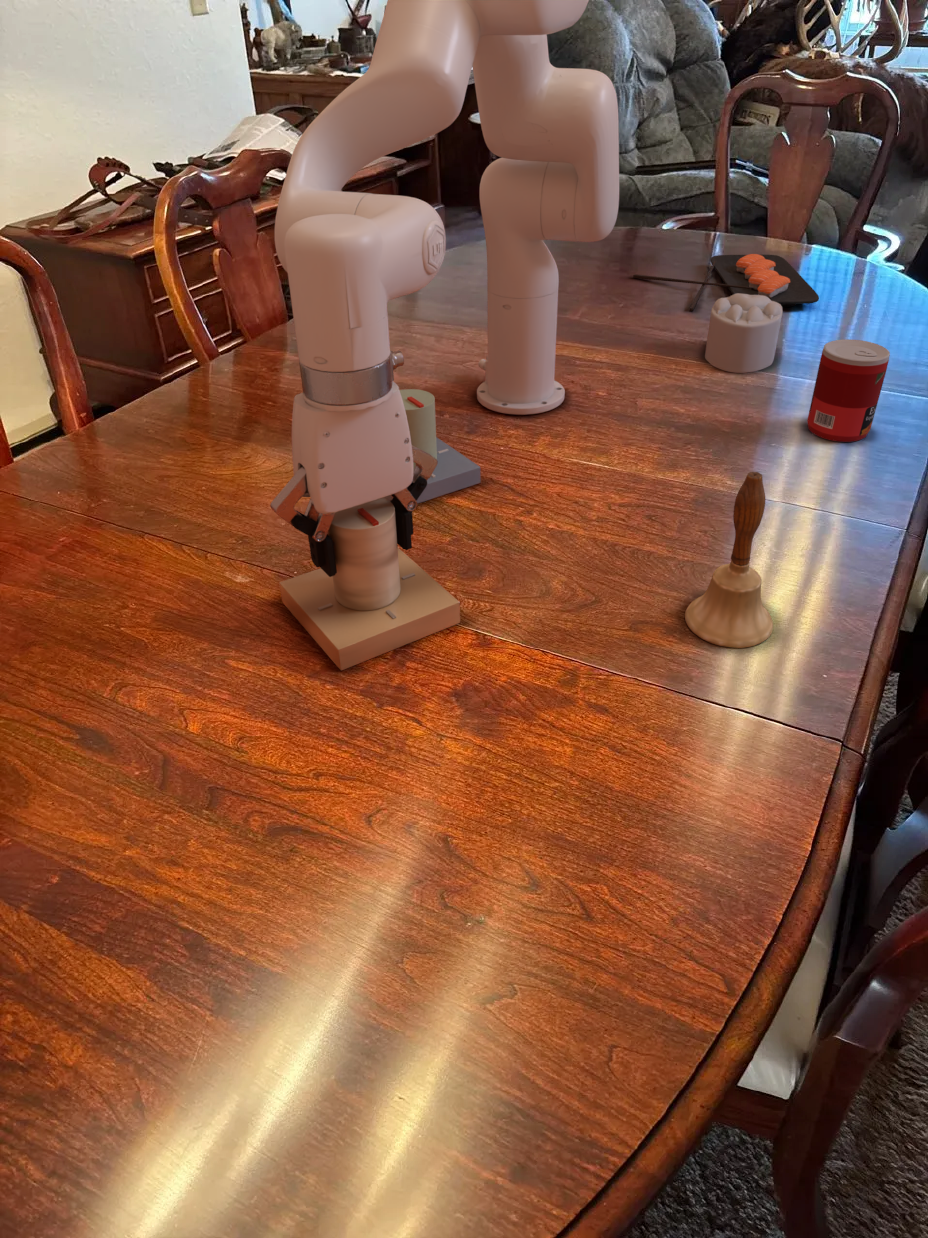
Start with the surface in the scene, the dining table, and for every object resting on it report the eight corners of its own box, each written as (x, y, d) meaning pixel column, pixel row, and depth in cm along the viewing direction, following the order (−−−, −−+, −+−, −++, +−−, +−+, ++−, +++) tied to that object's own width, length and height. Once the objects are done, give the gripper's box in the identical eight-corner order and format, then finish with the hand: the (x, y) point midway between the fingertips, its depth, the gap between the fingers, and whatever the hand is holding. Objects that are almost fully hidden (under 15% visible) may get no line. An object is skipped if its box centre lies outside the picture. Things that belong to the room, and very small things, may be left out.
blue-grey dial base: (347, 471, 115) (346, 454, 114) (429, 447, 120) (429, 430, 119) (395, 511, 107) (394, 493, 106) (480, 482, 112) (480, 465, 111)
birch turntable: (282, 602, 93) (278, 580, 91) (394, 562, 98) (392, 541, 97) (340, 671, 84) (338, 648, 82) (460, 622, 90) (459, 600, 88)
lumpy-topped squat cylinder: (777, 346, 147) (787, 291, 142) (769, 376, 137) (780, 318, 132) (711, 339, 150) (718, 285, 145) (698, 368, 140) (706, 311, 135)
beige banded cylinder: (323, 586, 90) (312, 503, 85) (380, 566, 93) (373, 484, 88) (353, 618, 86) (344, 533, 81) (412, 596, 89) (407, 512, 83)
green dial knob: (379, 458, 113) (374, 394, 108) (421, 445, 116) (417, 382, 111) (403, 476, 109) (399, 411, 104) (446, 463, 112) (444, 398, 107)
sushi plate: (822, 311, 160) (827, 289, 158) (649, 314, 161) (651, 292, 158) (778, 263, 183) (782, 243, 181) (627, 265, 184) (629, 245, 182)
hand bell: (757, 658, 84) (791, 506, 75) (671, 630, 88) (693, 481, 78) (783, 612, 90) (818, 465, 80) (702, 588, 94) (726, 444, 84)
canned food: (873, 445, 119) (895, 362, 112) (808, 440, 120) (826, 358, 113) (864, 420, 125) (885, 340, 118) (803, 416, 126) (820, 337, 119)
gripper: (413, 342, 83) (422, 513, 94) (231, 386, 76) (263, 567, 86) (458, 368, 78) (462, 545, 88) (267, 418, 70) (296, 605, 81)
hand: (364, 555), depth 87 cm, fingers open, 7 cm apart
